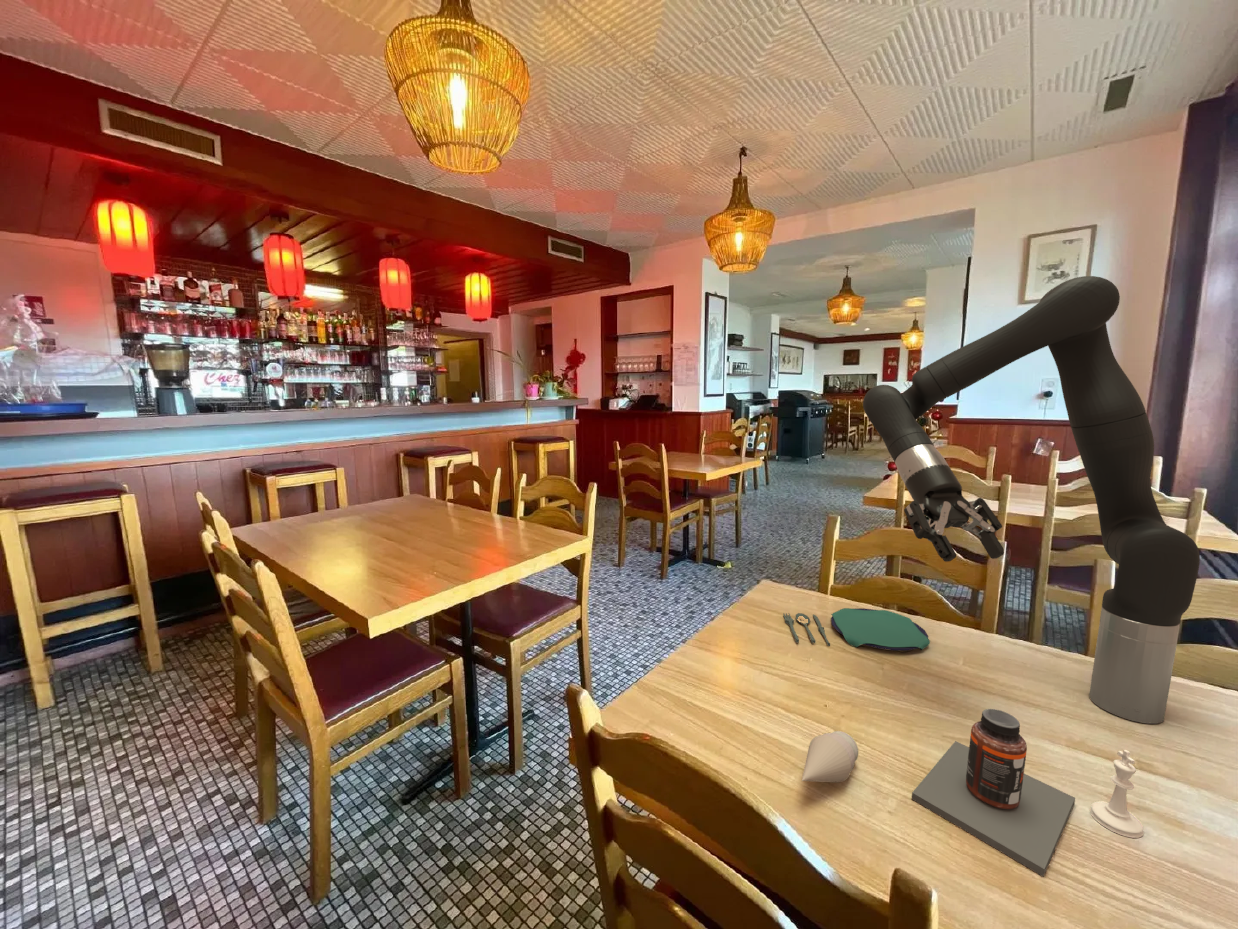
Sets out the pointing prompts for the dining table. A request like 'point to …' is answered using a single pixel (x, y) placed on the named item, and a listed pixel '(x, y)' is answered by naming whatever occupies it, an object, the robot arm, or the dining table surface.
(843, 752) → the ice cream cone
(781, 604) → the dining table surface
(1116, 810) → the chess piece
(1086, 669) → the dining table surface
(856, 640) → the cutlery set
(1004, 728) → the supplement bottle
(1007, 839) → the mat
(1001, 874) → the dining table surface
